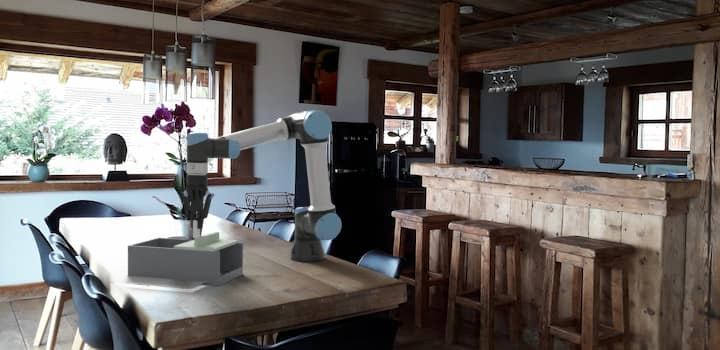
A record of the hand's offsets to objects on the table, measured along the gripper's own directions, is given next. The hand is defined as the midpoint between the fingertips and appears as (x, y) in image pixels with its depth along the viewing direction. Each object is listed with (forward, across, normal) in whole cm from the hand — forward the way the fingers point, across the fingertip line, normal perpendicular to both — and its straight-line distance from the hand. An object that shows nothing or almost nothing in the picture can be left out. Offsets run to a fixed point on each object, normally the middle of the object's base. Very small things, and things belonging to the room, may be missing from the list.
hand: (196, 237), depth 220 cm
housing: (+15, -4, 0) cm, 16 cm away
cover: (+3, +4, 0) cm, 5 cm away
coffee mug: (+15, -23, +24) cm, 37 cm away
